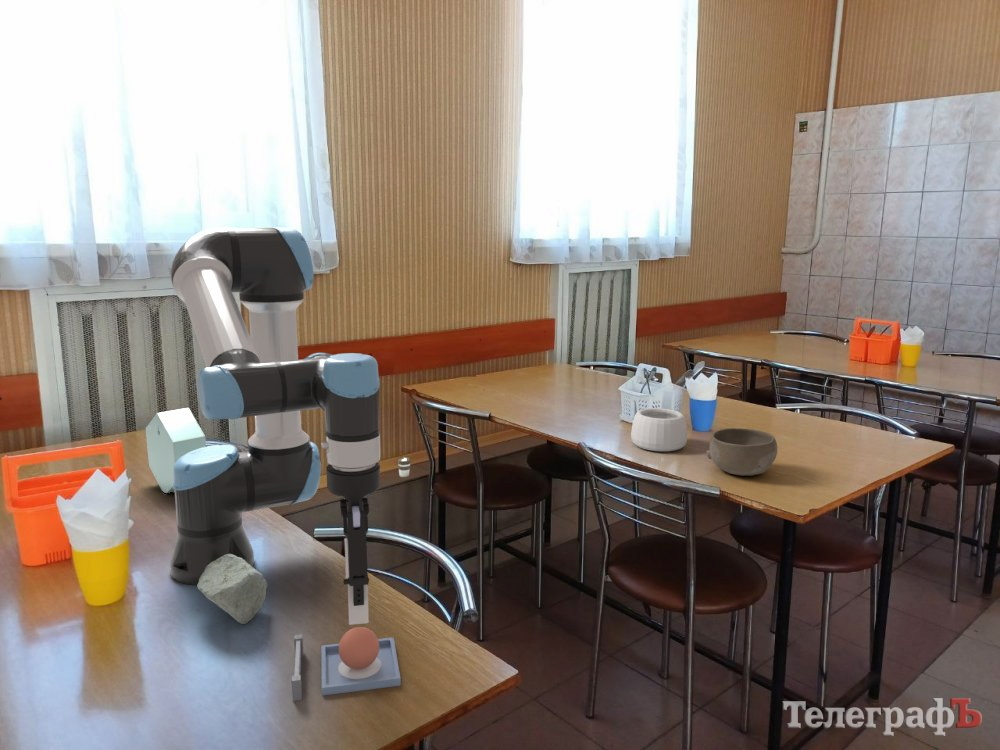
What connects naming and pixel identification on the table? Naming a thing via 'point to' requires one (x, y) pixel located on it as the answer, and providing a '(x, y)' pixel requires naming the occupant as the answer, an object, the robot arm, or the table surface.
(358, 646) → the ball
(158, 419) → the pale green faceted block
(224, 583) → the decorative stone
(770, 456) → the bowl
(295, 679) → the fence
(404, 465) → the coffee cup
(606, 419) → the table surface
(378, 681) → the dish
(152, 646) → the table surface
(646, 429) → the white faceted pot
